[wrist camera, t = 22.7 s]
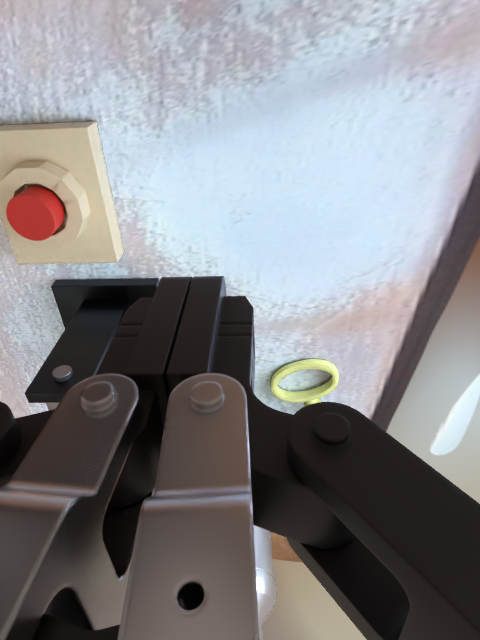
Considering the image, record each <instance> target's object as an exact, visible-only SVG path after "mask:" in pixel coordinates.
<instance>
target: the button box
mask: <svg viewBox="0 0 480 640" xmlns="http://www.w3.org/2000/svg"><path fill="white" fill-rule="evenodd" d="M32 186H38V187H43V188H46V189H48V190H50V191H51V192H53V193H54V194H55V195H56V196H57V197H58V198H59V199H60V201H61V203H62V205H63V207H64V211H65V218H64V221H63V223H62V225H61V226H60V227H59V228H58V229H57V230H56V231H55V232H54V233H53V234H52V235H51V236H50V237H49V238H47V239H45V240H42V241H33V240H29V239H26V238H24V237H22V236H21V235H19V234H18V233H17V232H16V231H15V230H14V229H13V228H12V227H11V225H10V223H9V221H8V219H7V215H6V208H7V205H8V203H9V201H10V200H11V199H12V198H13V197H15V196H16V195H17V194H19V193H20V192H21V191H23V190H24V189H26V188H28V187H32ZM0 217H1V219H2V222H3V225H4V227H5V230H6V233H7V236H8V238H9V241H10V244H11V246H12V249H13V252H14V255H15V257H16V260H17V263H18V264H62V263H111V262H118V261H119V259H120V258H121V256H122V254H123V253H124V248H123V243H122V239H121V234H120V229H119V225H118V220H117V215H116V211H115V206H114V201H113V197H112V192H111V187H110V182H109V178H108V173H107V168H106V164H105V159H104V154H103V150H102V145H101V140H100V136H99V131H98V126H97V122H96V121H92V122H68V123H45V124H21V125H0Z"/></svg>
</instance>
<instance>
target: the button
mask: <svg viewBox="0 0 480 640" xmlns="http://www.w3.org/2000/svg"><path fill="white" fill-rule="evenodd" d="M6 215H7V219H8V221H9V223H10V225H11V227H12V228H13V229H14V230H15V231H16V232H17V233H18V234H19V235H21V236H22V237H24V238H26V239H29V240H33V241H42V240H45V239H47V238H49V237H50V236H51V235H52V234H53V233H54V232H55V231H56V230H57V229H58V228H59V227H60V226H61V225H62V223H63V221H64V218H65V211H64V207H63V205H62V203H61V201H60V199H59V198H58V197H57V196H56V195H55V194H54V193H53V192H51V191H50V190H48V189H46V188H43V187H38V186H32V187H28V188H26V189H24V190H23V191H21V192H20V193H19V194H17V195H16V196H15V197H13V198H12V199H11V200H10V201H9V203H8V205H7V208H6Z"/></svg>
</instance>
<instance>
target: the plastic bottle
mask: <svg viewBox="0 0 480 640" xmlns="http://www.w3.org/2000/svg"><path fill="white" fill-rule="evenodd" d="M253 526H254V545H255V564H256V583H257V602H258V621H259V639H260V640H263V631H262V630H261V629H260V628H261V626H262V624H263V623H264V621H265V620H266V619H267V617H268V615H269V614H270V612H271V610H272V608H273V606H274V603H275V599H276V584H275V576H274V568H273V561H272V546H271V531H268V530H265V529H263V528H260V527H257V526H255V525H253Z"/></svg>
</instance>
